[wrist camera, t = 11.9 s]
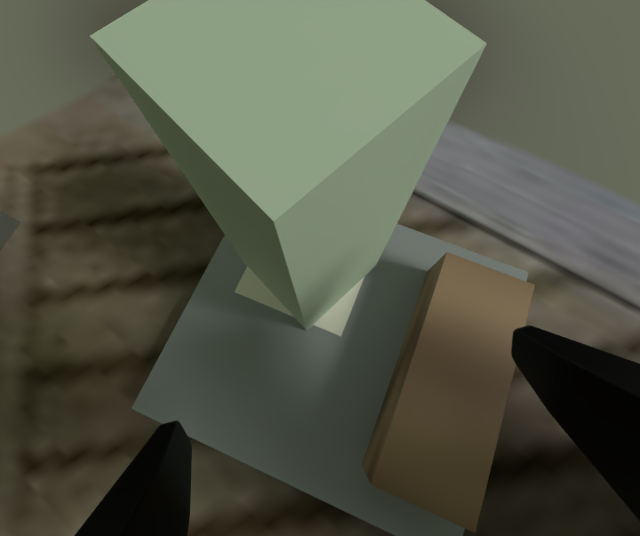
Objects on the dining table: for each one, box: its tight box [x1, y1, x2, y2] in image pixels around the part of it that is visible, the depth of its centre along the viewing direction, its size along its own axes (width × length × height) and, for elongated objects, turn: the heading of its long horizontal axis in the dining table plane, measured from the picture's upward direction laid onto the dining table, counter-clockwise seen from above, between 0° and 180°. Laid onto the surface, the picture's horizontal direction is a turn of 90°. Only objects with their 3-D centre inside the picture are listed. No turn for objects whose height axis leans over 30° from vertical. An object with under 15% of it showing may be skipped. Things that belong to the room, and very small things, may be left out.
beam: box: [362, 252, 535, 533], centre depth 16 cm, size 10×4×3 cm, turn 157°
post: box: [90, 0, 486, 330], centre depth 12 cm, size 5×5×13 cm
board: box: [131, 224, 528, 536], centre depth 18 cm, size 14×16×1 cm
